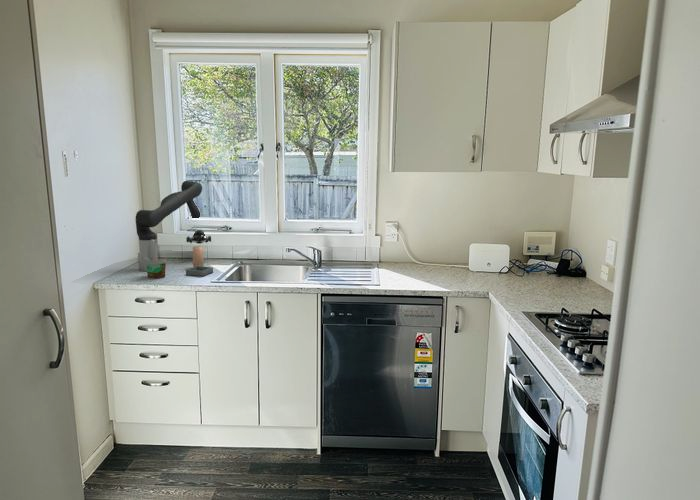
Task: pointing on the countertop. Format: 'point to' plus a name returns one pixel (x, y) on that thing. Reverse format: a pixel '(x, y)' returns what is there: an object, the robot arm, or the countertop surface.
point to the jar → (197, 256)
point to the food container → (155, 268)
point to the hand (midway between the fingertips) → (198, 241)
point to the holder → (199, 271)
